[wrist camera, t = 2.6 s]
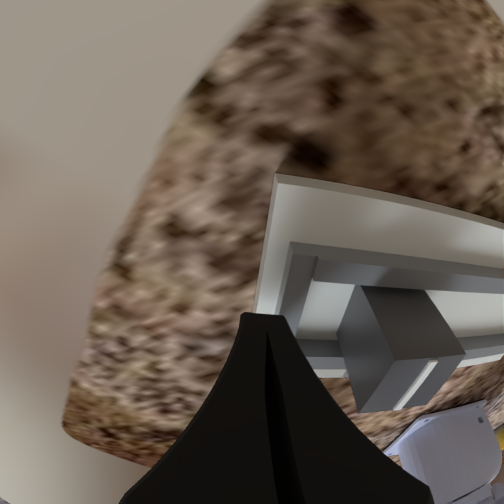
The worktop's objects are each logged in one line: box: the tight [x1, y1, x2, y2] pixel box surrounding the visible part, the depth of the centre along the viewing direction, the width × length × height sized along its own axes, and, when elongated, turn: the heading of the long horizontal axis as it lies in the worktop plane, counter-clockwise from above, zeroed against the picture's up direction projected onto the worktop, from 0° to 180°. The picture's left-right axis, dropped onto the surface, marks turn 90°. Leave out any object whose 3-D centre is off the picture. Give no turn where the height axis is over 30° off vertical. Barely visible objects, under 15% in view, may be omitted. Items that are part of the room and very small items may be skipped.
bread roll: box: [494, 424, 504, 450], centre depth 27 cm, size 8×9×4 cm
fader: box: [336, 285, 466, 413], centre depth 10 cm, size 3×3×4 cm
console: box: [252, 173, 504, 378], centre depth 12 cm, size 18×9×2 cm, turn 83°
